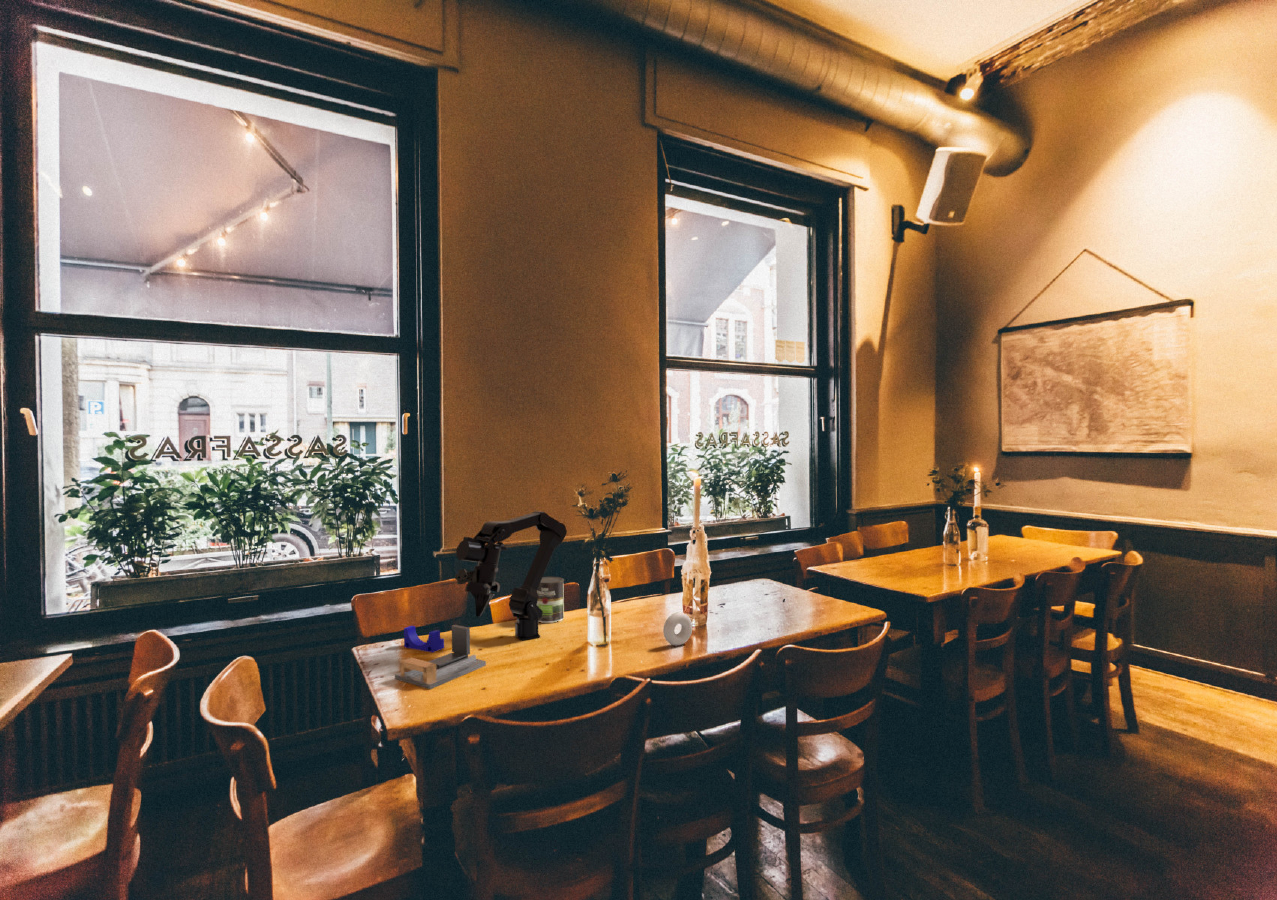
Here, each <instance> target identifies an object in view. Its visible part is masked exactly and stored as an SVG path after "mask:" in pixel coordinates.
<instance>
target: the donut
mask: <svg viewBox="0 0 1277 900" xmlns="http://www.w3.org/2000/svg"><path fill="white" fill-rule="evenodd" d="M677 625H680V626H681V627H680V628H681V629H680V631H679V632H678V633H676V632H675V629H676V626H677ZM662 631H663V637H664V640H665V641H666V642H667V643H668V644H670V645H672V646H681V645H683V644H685V643H686V642H687V641H688V640H689V639H690V638H691V635H692V632H693V622H692V620H691V618H690V616H689V615H688V614H686V613H684V612H680V611H679V612H674V613H672V614H671V615H669V616H668V617H667V618H666V620H665V622H664V624H663V630H662Z"/></svg>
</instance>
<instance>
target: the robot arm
mask: <svg viewBox="0 0 1277 900" xmlns="http://www.w3.org/2000/svg"><path fill="white" fill-rule="evenodd" d="M533 527H535V528H536V530H537V531H539V536H538V537H539V546H538V549H537V551H536V553H535V556H534V558H533V560H532V562H531V565H530V567H529V570H528V572H527V575H526V576H525V580H523V583H522V585H521V586H519V587H516V586H515V587H514V588H513V589H512V593H511V595H510V597H509V598H508V600H509V602H508V607H509V610H510V612H511V613H512V617H513V618H516V622H515V623H514V636H516V638H518V639H519V640H520V641H527V640H533V639H538V638H541V635H540V634H539V622H538V619H539V618H541V617H542V613H543V611H542V610H541V609H540V608H539V607H538V606H537V601H538V594H537V589H538V587H539V584H540V582H541V580H542V577H544V576H545V573H546V570H547V568H548V565H549V562H550V560H551V559H552V556H553V554H554V551H555V550H556V549H557V548H558V547H559V546H560V545H561V544H562V543H563V541H564V539H565V538H566V536H567V533H568V532H567V531H568V530H567V527H566V525H565V524H564V523H563V522H560V521H559V520H557V519H555V518H553V516H550V515H549V514H548V513H546V512H545V511H538V510H535V511H532V512H531V513H528V514H525V515H520V516H517V517H514V518H511V519H507V520H495V521H494V520H492V521H486V522H484V524H482V528H481V529H480V530H479V531H478V532H477V533H476V535H475V536H474V537H469V536H464V537H463V538H462V539H463V540H462V541H460V542H459V543H458V545H457V547H456V551H455V554H456V558H457V559H458V560H459V561H467V562H474V563H477V565H476V566H474V570H469V571H467V570H466V569H465V568H462V569H459V570H458V572H457V573H455V577H454V579H455V580H456V584H457V586H459V585H465V589H464V591H465V592H468V593H470V594H471V596H473V598H474V604H475V617H478V618H479V617H481V616H482V615H483V613H484V611H485V610H486V608H487V606H488V605H489V603H490V601H492V598H493V597H494V596H495V592H496V593H499V592H500V588H501V584H500V583H499V582H497V581H495V580H496V575H497V572H499V568H498V565H499V559H500V555H501V551H507V547H506V546H505V545H504V542H503V541H505V540H507V539H509V538H510V537H511V536H512V535H513V534H514V533H517V532H520V531H524V530H526V529H529V528H533ZM493 592H494V593H493Z"/></svg>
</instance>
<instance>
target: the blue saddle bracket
mask: <svg viewBox="0 0 1277 900" xmlns="http://www.w3.org/2000/svg"><path fill="white" fill-rule="evenodd" d="M416 631H417V630H416V626H415V625H409V626H407V627H404V628H403V643H404V644H403V646H404V648H407V649H412V650H418V651H423V652H429V653H431V654H432V653H433V654H434V653H435V651H436V652H438V651H440V650H443V649H445V639H444V638H441V630H440V629H435V630H432V631H429V632H428V638H427V641H423V640H422V639H420V637H419V636H418V633H417V632H416ZM442 648H443V649H442Z"/></svg>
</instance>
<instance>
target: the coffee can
mask: <svg viewBox="0 0 1277 900" xmlns="http://www.w3.org/2000/svg"><path fill="white" fill-rule="evenodd" d="M564 582H565V579H564V578H563V577H560V576H543V577H542V580H541V582H540V584H539V587H538V589H537V594H538V601H537V606H538V607H539V608H540V609H541V610H542V611H543V613H542V617H541V618H539V619H538V623H539V622H541V624H555V623H554V622H556V623H558V622H557V621H560V622H562V621H563V618H564V619H565V613H564V612H565V603H564V602H565V601H564V600H565V597H564V593H565V592H564V590H565V588H564V587H565V586H564V585H565V584H564Z"/></svg>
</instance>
